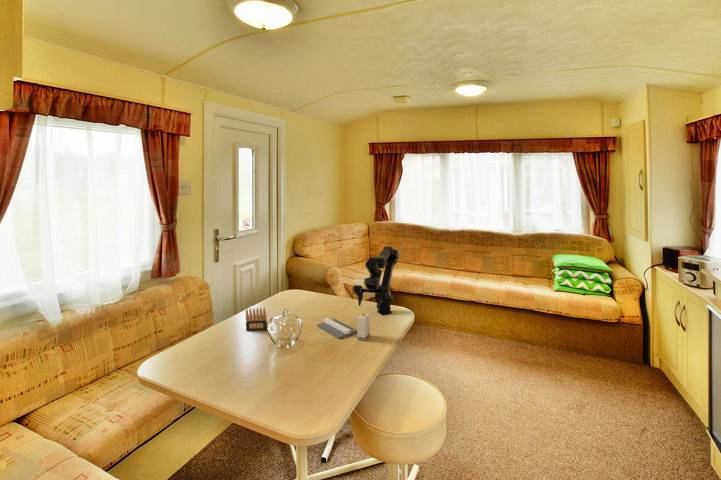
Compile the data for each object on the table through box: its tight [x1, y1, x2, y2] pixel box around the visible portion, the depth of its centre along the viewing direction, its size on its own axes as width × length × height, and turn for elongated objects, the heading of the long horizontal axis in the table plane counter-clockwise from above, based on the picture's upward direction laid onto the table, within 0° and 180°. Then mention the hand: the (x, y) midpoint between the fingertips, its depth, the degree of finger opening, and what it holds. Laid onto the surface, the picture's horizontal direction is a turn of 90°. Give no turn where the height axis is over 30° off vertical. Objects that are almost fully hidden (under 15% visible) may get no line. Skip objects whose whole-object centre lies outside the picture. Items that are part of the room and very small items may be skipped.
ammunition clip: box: [245, 307, 268, 332], centre depth 175 cm, size 11×2×12 cm, turn 93°
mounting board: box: [316, 317, 357, 340], centre depth 174 cm, size 20×11×3 cm, turn 39°
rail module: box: [356, 312, 371, 342], centre depth 162 cm, size 6×4×12 cm, turn 159°
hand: (368, 306), depth 168 cm, fingers open, 9 cm apart
